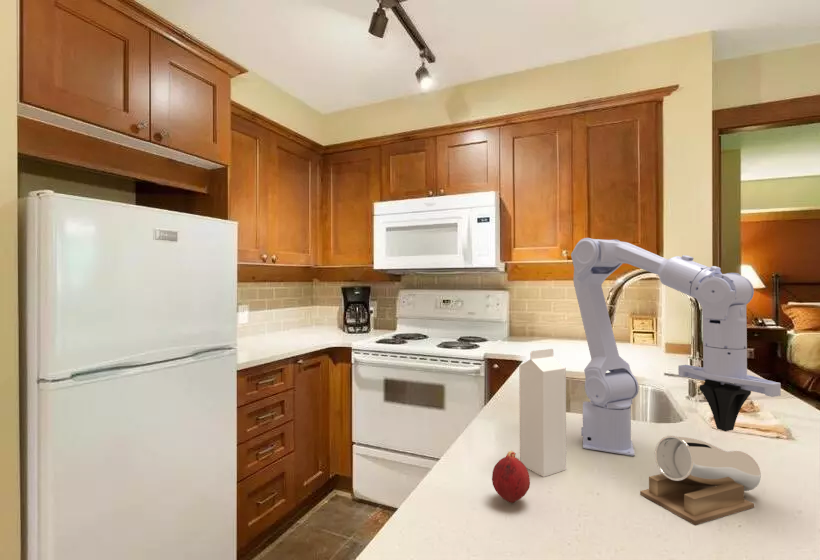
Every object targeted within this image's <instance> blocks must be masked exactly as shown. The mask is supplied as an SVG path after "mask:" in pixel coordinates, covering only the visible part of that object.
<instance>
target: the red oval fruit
mask: <svg viewBox="0 0 820 560" xmlns="http://www.w3.org/2000/svg"><path fill="white" fill-rule="evenodd" d="M492 469H493V470H492V475H491V482H492V486H493V488H494V490H495V491H496V493H497V495H498V496H499V497H500V498H502V499H503V500H505V501H506V502H508V503H509V504H514V503H516V501H519V500H521V499H522V498H524V497H525V495H527V493H528V491H529V489H530V485H531V478H530V473H529V469H528V468H526V467H525V465H524V464H523V463H522V462H521V461H520V459H518V458H517V457H516V453H515V451H514V450H510V451H507V454H506V456H504V457H503V458H501V459H500V460H498V462H496V464H495V465H494V467H493V468H492Z"/></svg>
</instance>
